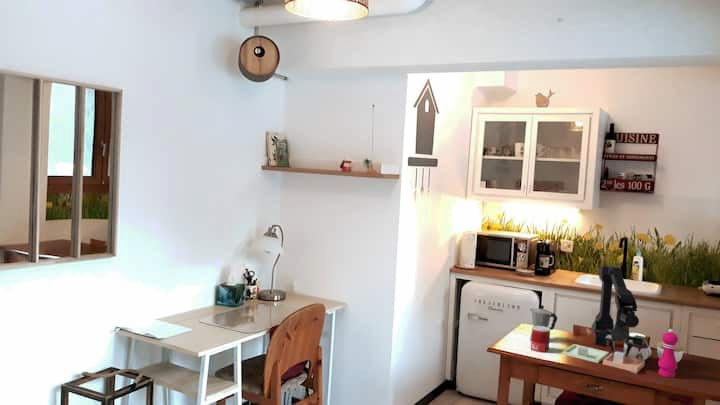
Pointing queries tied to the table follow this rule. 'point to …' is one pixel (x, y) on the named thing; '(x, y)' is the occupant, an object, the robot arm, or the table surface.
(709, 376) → the table surface
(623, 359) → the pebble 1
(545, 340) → the canned food
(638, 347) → the spread jar
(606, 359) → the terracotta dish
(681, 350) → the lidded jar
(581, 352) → the grey cube
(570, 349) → the green tray
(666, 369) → the pepper mill
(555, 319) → the coffeepot
